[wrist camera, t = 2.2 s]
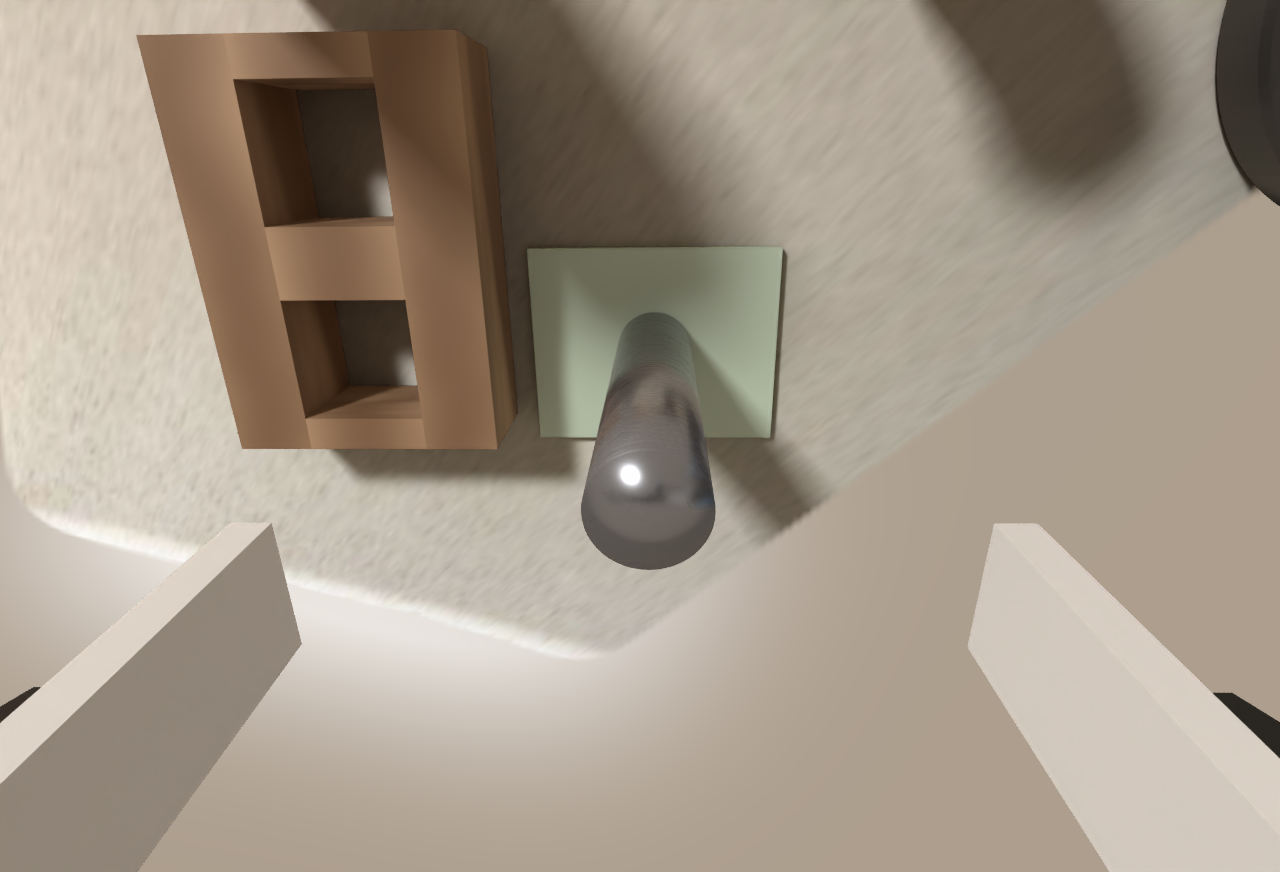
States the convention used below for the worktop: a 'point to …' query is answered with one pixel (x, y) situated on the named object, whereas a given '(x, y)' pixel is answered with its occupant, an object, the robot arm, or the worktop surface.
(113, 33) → the worktop surface
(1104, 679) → the robot arm
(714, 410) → the mat
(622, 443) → the pin
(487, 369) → the socket block
